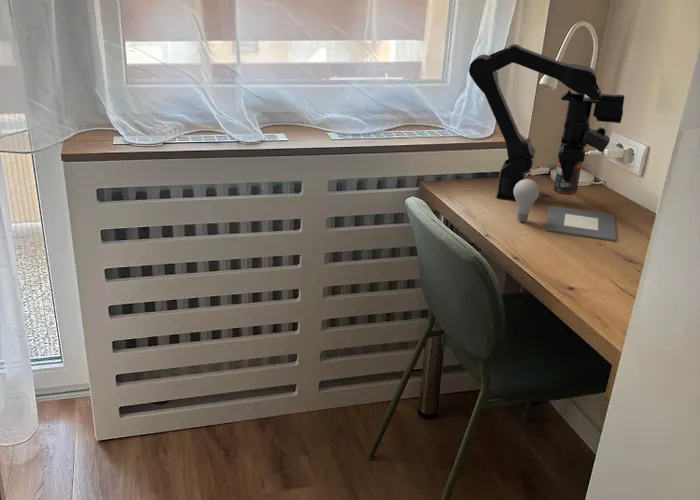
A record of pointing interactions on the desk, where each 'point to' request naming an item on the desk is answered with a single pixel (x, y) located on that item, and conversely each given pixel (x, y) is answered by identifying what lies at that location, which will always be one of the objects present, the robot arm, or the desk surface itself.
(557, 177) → the supplement bottle
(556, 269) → the desk surface
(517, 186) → the lightbulb
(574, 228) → the card
